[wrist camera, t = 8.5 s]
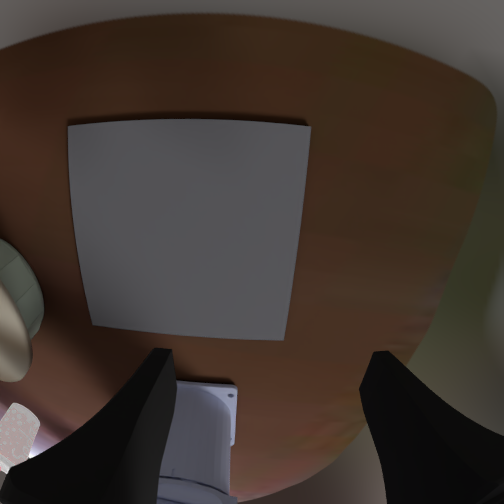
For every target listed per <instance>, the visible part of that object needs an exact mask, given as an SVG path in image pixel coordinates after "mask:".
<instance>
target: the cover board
mask: <svg viewBox="0 0 504 504" xmlns="http://www.w3.org/2000/svg"><path fill="white" fill-rule="evenodd" d="M32 358H33V352H32V344H31V339H30V336H29V332H28V330H27V327H26V324H25V322H24V320H23V317H22V315H21V313H20V311H19V309H18V307H17V305H16V303H15V301H14V300H13V298H12V296H11V295H10V293H9V291H8V290H7V288H6V287H5V285H4V284H3V282H2V281H1V279H0V380H2V381H6V382H16V381H19V380H21V379H22V378H23V377H24V376H25V374H26V373H27V371H28V370H29V368H30V366H31V363H32Z"/></svg>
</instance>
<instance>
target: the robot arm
mask: <svg viewBox="0 0 504 504" xmlns="http://www.w3.org/2000/svg"><path fill="white" fill-rule="evenodd" d="M359 391H360V396H361V402H362V406H363V411H364V414H365V417H366V420H367V423H368V426H369V429H370V432H371V435H372V438H373V441H374V444H375V447H376V450H377V453H378V456H379V459H380V463H381V467H382V472H383V478H384V483H385V490H386V499H387V504H504V436H502V435H500V434H497V433H495V432H493V431H491V430H489V429H486V428H485V427H483V426H481V425H479V424H478V423H476V422H474V421H472V420H471V419H469V418H467V417H466V416H464V415H463V414H461V413H460V412H459V411H457V410H456V409H454V408H453V407H451V406H450V405H449V404H447V403H446V402H445V401H443V400H442V399H441V398H440V397H439V396H437V395H436V394H435V393H434V392H433V391H432V390H430V389H429V388H428V387H427V386H426V385H425V384H424V383H422V382H421V381H420V380H419V379H418V378H417V377H416V376H415V375H414V374H413V373H412V372H411V371H410V370H409V369H408V368H406V367H405V366H404V365H403V364H402V363H401V362H400V361H399V360H398V359H397V358H396V357H395V356H394V355H392V354H391V353H390V352H389V351H376V352H373V355H372V358H371V360H370V363H369V365H368V368H367V370H366V373H365V375H364V378H363V380H362V383H361V385H360V388H359ZM236 405H237V387H236V386H235V385H229V384H212V383H198V382H187V381H177V380H176V375H175V369H174V361H173V354H172V349H164V348H154V349H153V350H152V351H151V352H150V354H149V355H148V356H147V358H146V359H145V360H144V362H143V363H142V364H141V365H140V367H139V368H138V369H137V370H136V372H135V373H134V374H133V375H132V377H131V378H130V379H129V380H128V381H127V382H126V384H125V385H124V386H123V387H122V388H121V389H120V390H119V392H118V393H117V394H116V395H115V396H114V397H113V398H112V399H111V400H110V401H109V402H108V403H107V404H106V405H105V406H104V407H103V408H102V409H101V410H100V411H99V412H98V413H97V414H96V415H94V416H93V417H92V418H91V419H90V420H89V421H88V422H86V423H85V424H84V425H83V426H81V427H80V428H79V429H77V430H76V431H75V432H73V433H72V434H71V435H69V436H68V437H67V438H65V439H64V440H62V441H61V442H59V443H57V444H56V445H54V446H52V447H51V448H49V449H47V450H46V451H44V452H42V453H41V454H39V455H37V456H35V457H33V458H30V459H28V460H26V461H24V462H22V463H19V464H17V465H15V466H12V467H10V469H9V471H8V473H7V475H6V477H5V480H4V482H3V485H2V488H1V490H0V502H1V503H2V504H237V497H233V496H229V485H230V446H232V445H234V440H235V422H236Z"/></svg>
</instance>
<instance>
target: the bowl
mask: <svg viewBox="0 0 504 504" xmlns="http://www.w3.org/2000/svg"><path fill="white" fill-rule="evenodd" d="M0 279H1V281H2V282H3V284H4V285H5V287H6V288H7V290H8V291H9V293H10V295H11V296H12V298H13V300H14V301H15V303H16V305H17V307H18V309H19V311H20V313H21V315H22V317H23V320H24V322H25V324H26V327H27V330H28V332H29V336H30V339H32V338H33V337H34V335H35V334H36V333H37V331H38V330H39V329H40V324H41V322H42V320H43V316H44V299H43V295H42V291H41V288H40V285H39V283H38V280H37V278H36V276H35V274H34V272H33V270H32V269H31V267H30V266H29V264H28V263H27V261H26V260H25V259H24V257H23V256H22V255H21V254H20V253H19V252H18V251H17V250H16V249H15V248H14V247H13V246H12V245H10V244H9V243H7V242H6V241H4V240H2V239H0Z"/></svg>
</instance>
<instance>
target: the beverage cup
mask: <svg viewBox="0 0 504 504" xmlns="http://www.w3.org/2000/svg"><path fill="white" fill-rule="evenodd" d="M39 426H40V421H39V420H38V418H37V417H36V416H35V415H34V414H33V413H32V412H31V411H30V410H28V409H27V408H25V407H24V406H22V405H20V404H18V403H13V404H12V405H11V406H10V407H9V409H8V410H7V412H6V413H5V415H4V416H3V418H2V419H1V421H0V471H1V470H2V471H3V472H5V473H6V474H7V473H8V471H9V469H10V467H12V466H15V465H17V464H19V463H22V462H24V461H26V460H27V458H28V455H29V453H30V450H31V447H32V444H33V442H34V439H35V436H36V434H37V431H38V429H39Z"/></svg>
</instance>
